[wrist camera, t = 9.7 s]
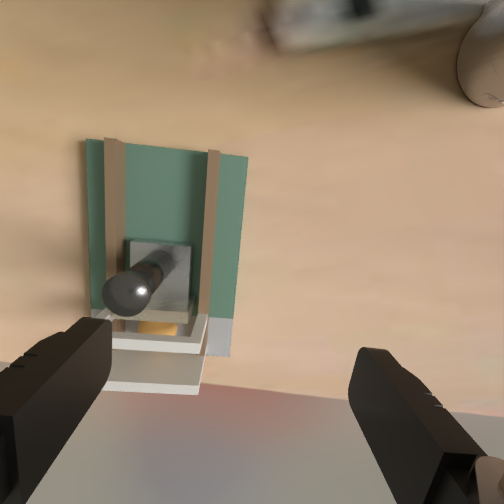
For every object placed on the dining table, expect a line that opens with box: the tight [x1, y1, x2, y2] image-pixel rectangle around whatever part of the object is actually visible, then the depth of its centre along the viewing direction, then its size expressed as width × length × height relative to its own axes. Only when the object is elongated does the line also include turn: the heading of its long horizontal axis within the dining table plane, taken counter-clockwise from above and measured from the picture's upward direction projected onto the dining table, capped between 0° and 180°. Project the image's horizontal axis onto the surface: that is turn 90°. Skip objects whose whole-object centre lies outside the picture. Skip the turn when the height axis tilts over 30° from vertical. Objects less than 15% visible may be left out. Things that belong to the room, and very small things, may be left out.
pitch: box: [86, 138, 248, 395], centre depth 26 cm, size 23×16×10 cm
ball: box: [138, 321, 177, 336], centre depth 29 cm, size 4×4×4 cm
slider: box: [102, 239, 195, 324], centre depth 24 cm, size 7×7×10 cm
